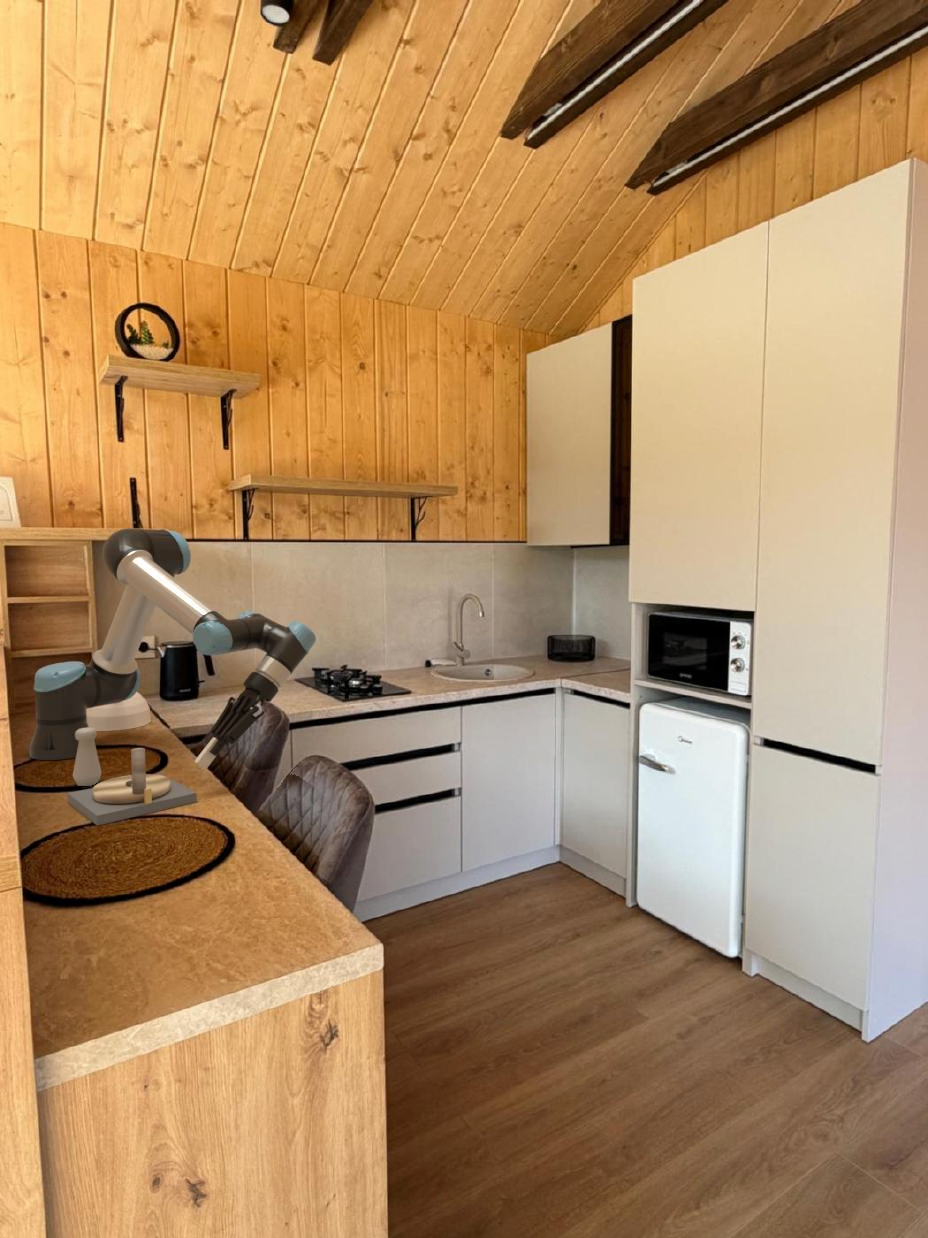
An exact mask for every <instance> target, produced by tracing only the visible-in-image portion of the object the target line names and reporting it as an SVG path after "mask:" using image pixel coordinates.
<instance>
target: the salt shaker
mask: <svg viewBox="0 0 928 1238" xmlns="http://www.w3.org/2000/svg"><path fill="white" fill-rule="evenodd" d="M97 732H98V731H96V730H95V729H94V728H89V727H87V728H81V729H78V730H77V731H76V732H75V738H76V739H77V740H79V744H78V749H77V755H76V757H75V761H74V767H73V772H72V778H73V779H74V782H75V783H76V785H77V787H78V786H89V787H93V786H92V785H94V786H95V784H96V783H97V784H99V783H100V782H99V781H100V778H101V776H102V773H103V772H102V768H101V765H100V759H99V756H98V751H97V747H96V746H97V745H96V742H94V740H95V739H96V738H97V735H98V733H97ZM97 784H96V785H97Z"/></svg>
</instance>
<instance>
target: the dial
mask: <svg viewBox="0 0 928 1238" xmlns="http://www.w3.org/2000/svg"><path fill="white" fill-rule="evenodd" d="M130 751H131V752H130V755H131V757H130V758H131V761H130V762H131V774H128V775H123V776H117V777H112V778H109V779H107V780H103V781H100V782H98V783H97V784H96V785H94V786H92V788H93V799H94V800H96V801H98V802H102V803H109V804H126V803H135V802H141V801H144V789H146V788H151V789H152V799H154V798H157V797H159V796H162V795H164V794H166V793H167V792H168V791H169V790H170V779H171V778H170V777H169V778H170V779H169V778H167V777H168V776H167V777H165V776H166V775H165V776H162V775H160V774H154V773H153V774H151V773H147V772H146V749H145V747H137V748H136V747H135V748H132V749H131V750H130Z"/></svg>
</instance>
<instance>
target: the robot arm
mask: <svg viewBox="0 0 928 1238" xmlns="http://www.w3.org/2000/svg"><path fill="white" fill-rule="evenodd" d="M101 554H102V555H101V556H102V559H103V560H102V561H103V564H104V566H105V568H106V570H108V572H109V573H110V574H111V575H112V576H113V577H114V578H115V579H117V580H118V581H119V582H120V583H121V584H123V585H126V586H125V588H124V590H123V591H124V592H123V593H122V596H121V599H120V601H119V604H118V607H117V609H116V612H115V615H114V618H113V619H112V622H111V625H110V627H109V630H108V632H107V635H106V638H105V641H104V643H103V646H102V648H101V649H99V650H95V652H93V654H92V657H91V659H90V662H89V664H86V665H85V663H84V662H82V661H65V662H58V663H54V664H53V663H51V664H49V665H46V666H43V667H41V668H39V669H38V670H37V671H36V672H35V675H34V684H33V690H34V702H35V703H34V704H35V721H36V722H35V724H36V726H35V730H34V732H33V734H32V735H33V736H32V738H31V741H30V745H29V750H28V751H29V757H30V758H31V759H34V760H39V761H56V760H58V761H60V760H67V759H69V760H70V759H74V758H75V759H76V755H77V749H78V744H79V740H77V739H76V738H75V732H76V731H77V730H78V729H81V728H87V727H89V726H88V723H87V714H86V713H87V712H86V709H87V708H92V707H97V706H102V705H108V704H114V703H119V702H122V701H124V700H127V699H129V698H131V697H132V696H134V694H135V693H136V692H138V691H139V688H140V686H141V678H140V676H141V671H140V668H139V667H138V663H137V660H136V656H137V653H138V651H139V648H140V646H141V644H142V641H143V639H144V636H145V634H146V631H147V629H148V627H149V623H150V622H151V620H152V617H153V614H154V611H155V609H156V606H157V607H158V608H159V609H160V610H162V611H163V612H164V613H165V614H166V615H168V616H169V617H170V618H172V619H173V620H174V621H175V622H176V623H178V624H179V625H180V626H182V627H183V628H184V629H185V630H186V631H188V632H189V633H190V634H191V635H192V642H193V644H194V646H195V649H196V651H198V652H199V653H200V654H201V655H205V656H219V655H220V656H222V655H225V654H229V653H236V652H240V651H242V652H243V651H248V650H254V649H259V650H260V651H262V652H265V653H266V654H265V655H264V656H263V657H262V658H261V660H260V661H259V662H258V664H257V665H256V666H255V668H254V671H251V673H250V674H249V675H248V676H247V677H246V679H245V680H244V682H243V687H245V689H244V690H243V691H242V692H241V693H240V694H239V695H238V697H233V696H231V697H229V698H228V701H227V704H226V705H225V707H224V709H223V710H222V712H221V714H220V715H219V717H218V719H217V720H216V722H215V723H214V725H213V727H212V728H211V730H210V733H211V734H212V738H211V739H210V741H209V742H208V743H207V744H206V745H205V747H204V748H203V750H202V751H201V752H200V754H198V756H197V757H196V759H195V760H194V763H196V764H197V765H198V766H200V767H201V768H202V769H204V770H207V769H208V768H209V766H210V765H211V764H212V762H213V761H214V759H215V758H216V757H217V756H218V754H219V753H220V752H221V751H222V749H223V748H224V747H225V746H226V745H229V744H231V745H234V744H235V743H236V742H237V740H239V739H240V738H241V737H242V736H243V734H245V732H246V731H248V729H249V728H250V727H252V725H254V723H255V722H256V721H258V720H259V719H260V718H261V717H262V716H264V715H265V711H264V710H262V707H263V705H264V704H265V702H266V703H270V702H272V700H273V699H274V698H275V696H276V695H277V694H278V693H279V689H280V688H282V687H283V685H284V684H285V683H286V682H287V681H288V679H289V677H290V676H291V675H292V674H293V672H294V671H295V670H296V668H297V667H298V665H300V663H301V662H302V661H303V659H304V658H305V657H306V656H307V655H308V654H309V652H310V650H311V648H312V647H313V646H314V644H315V643H316V641H317V638H316V635H315V633H314V632H313V630H312V629H311V628H310V627H308V626H307V625H305V624H304V623H302V622H299V621H295V620H293V621H291V622H290V623H289V624H287V626H285V625H281V624H279V623H278V622H275V621H274V620H272V619H270V618H268V617H266V616H265V615H263V614H261V613H258V612H254V611H252V610H246V611H244V612H243V613H242V614H239V616H237V618H234V619H228V618H226V617H224V616H223V615H222V614H221V613H219V612H218V611H217V610H215V609H214V608H213V607H212V606H210V605H209V604H208V603H206V601H204V600H203V599H201V597H199V596H197V594H195V593H194V592H193V591H191V590H190V589H188V587H187V586H185V585H184V584H183V583H181V582H180V581H179V580H178V579H176V578H175V577H176V575H181V574H183V573H185V572H186V571H187V570H188V569H189V568H190V564H191V557H192V555H191V549H190V548H189V543H188V542H187V540H186V538H185V537H184V536H183V535H182V534H181V533H179V532H177V531H174V530H167V529H165V528H162V529H147V528H146V529H145V528H132V527H131V528H127V527H126V528H123V529H119V530H117V531H115V532H113V533H112V534H111V535H110V536H108V538H107V539H106V541H104V543H103V548H102V553H101ZM94 742H95V739H94ZM95 743H96V742H95Z"/></svg>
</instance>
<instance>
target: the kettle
mask: <svg viewBox="0 0 928 1238" xmlns="http://www.w3.org/2000/svg"><path fill="white" fill-rule="evenodd" d="M86 712H87V713H86V714H87V723H88V726H89V728H94V729H95V730H96V732H115V731H116V732H117V731H124V730H132V729H135V728H140V727H144V726H146V725H149V724H150V723H152V715H151V710H150V706H149V704H148V701H147V700H146V699H145V697H143V695H141V693H139V692H138V691H137V692H136V693H135V694H134V696H132V697H131V698H129V699H127V700H124V701H122V702H119V703H114V704H108V705H102V706H97V707H92V708H87V709H86Z"/></svg>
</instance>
